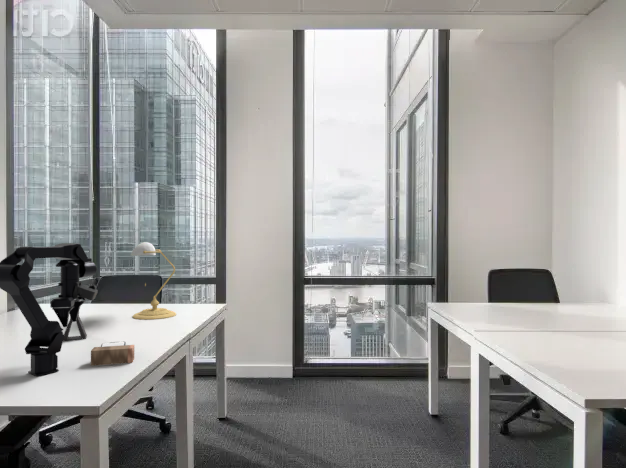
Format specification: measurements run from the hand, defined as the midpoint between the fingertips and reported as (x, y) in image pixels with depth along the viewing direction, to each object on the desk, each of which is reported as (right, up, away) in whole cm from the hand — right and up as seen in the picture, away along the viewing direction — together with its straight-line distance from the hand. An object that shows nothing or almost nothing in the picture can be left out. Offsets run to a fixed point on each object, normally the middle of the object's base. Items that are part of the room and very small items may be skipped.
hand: (69, 324), depth 150 cm
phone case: (+8, -14, +16) cm, 22 cm away
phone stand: (-17, -13, +34) cm, 40 cm away
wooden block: (+9, -11, -2) cm, 14 cm away
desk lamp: (-2, -13, +85) cm, 87 cm away
